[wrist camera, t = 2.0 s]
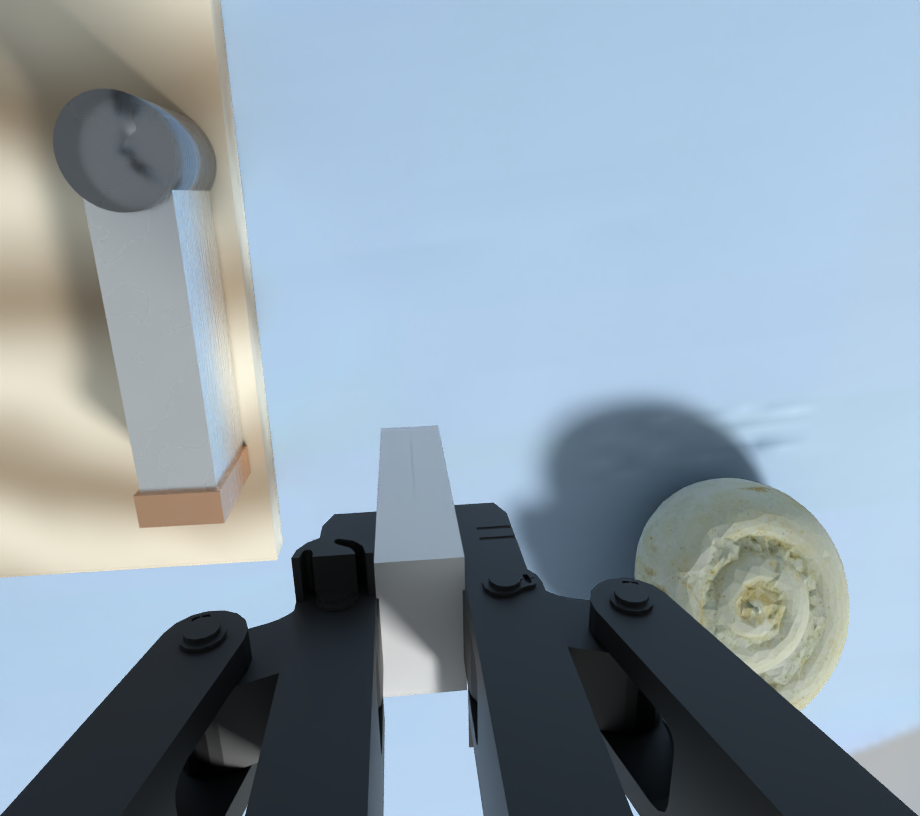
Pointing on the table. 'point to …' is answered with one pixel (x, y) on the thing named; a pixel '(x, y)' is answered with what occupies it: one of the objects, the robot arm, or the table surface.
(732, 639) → the seashell
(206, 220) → the bar
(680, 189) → the table surface
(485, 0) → the table surface
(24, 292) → the plate
